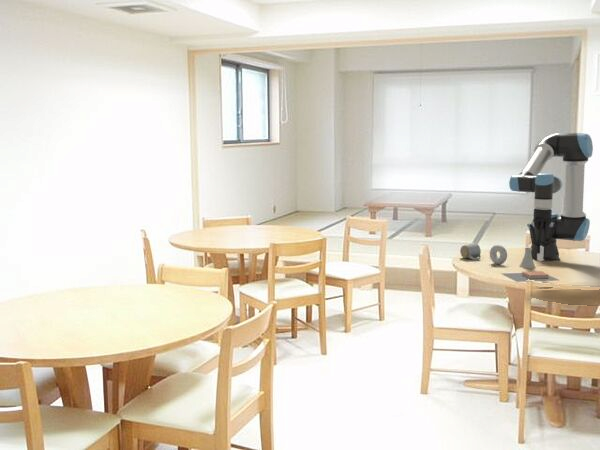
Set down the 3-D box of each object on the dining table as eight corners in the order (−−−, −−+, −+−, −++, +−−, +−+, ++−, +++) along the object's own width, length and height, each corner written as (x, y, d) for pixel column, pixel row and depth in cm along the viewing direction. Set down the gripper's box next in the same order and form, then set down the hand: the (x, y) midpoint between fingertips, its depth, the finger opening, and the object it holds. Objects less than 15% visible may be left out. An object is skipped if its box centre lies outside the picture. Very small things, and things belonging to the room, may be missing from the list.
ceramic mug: (458, 257, 338) (459, 243, 336) (471, 256, 341) (472, 241, 339) (471, 261, 328) (472, 246, 327) (484, 260, 331) (485, 245, 330)
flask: (527, 270, 306) (528, 250, 304) (516, 267, 312) (517, 247, 311) (538, 269, 308) (539, 248, 307) (527, 266, 315) (528, 246, 314)
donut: (508, 265, 316) (509, 245, 315) (503, 266, 315) (504, 246, 313) (492, 262, 325) (493, 242, 323) (487, 263, 323) (488, 243, 322)
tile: (540, 271, 294) (522, 271, 292) (548, 274, 287) (529, 275, 285) (540, 274, 294) (522, 275, 293) (548, 278, 287) (529, 278, 286)
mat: (541, 273, 299) (541, 272, 299) (559, 281, 283) (559, 280, 283) (500, 275, 296) (500, 273, 296) (516, 283, 280) (516, 281, 280)
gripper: (552, 207, 290) (549, 258, 293) (524, 207, 288) (522, 259, 292) (561, 209, 283) (558, 261, 286) (533, 209, 281) (530, 262, 284)
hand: (540, 260), depth 289 cm, fingers closed
